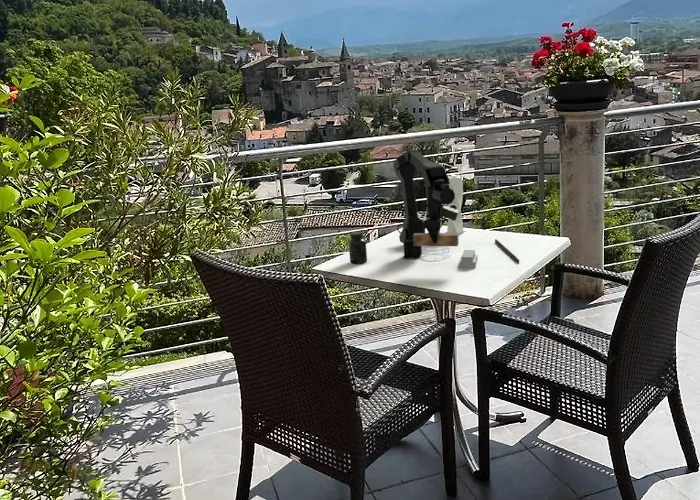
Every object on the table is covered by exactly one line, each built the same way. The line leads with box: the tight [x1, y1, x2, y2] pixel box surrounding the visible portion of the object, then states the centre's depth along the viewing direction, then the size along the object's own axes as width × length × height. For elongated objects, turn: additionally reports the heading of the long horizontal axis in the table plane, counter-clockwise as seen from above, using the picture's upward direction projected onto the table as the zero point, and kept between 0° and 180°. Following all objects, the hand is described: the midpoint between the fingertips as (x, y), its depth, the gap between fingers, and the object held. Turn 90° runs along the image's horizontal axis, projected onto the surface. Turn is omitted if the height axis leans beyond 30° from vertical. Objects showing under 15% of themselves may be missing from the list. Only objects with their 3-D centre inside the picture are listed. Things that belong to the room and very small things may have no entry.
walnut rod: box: [413, 232, 459, 247], centre depth 248 cm, size 16×4×4 cm, turn 75°
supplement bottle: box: [348, 231, 368, 265], centre depth 266 cm, size 7×7×12 cm
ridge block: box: [458, 249, 479, 268], centre depth 256 cm, size 6×10×4 cm, turn 165°
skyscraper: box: [445, 171, 467, 236], centre depth 299 cm, size 8×8×28 cm
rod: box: [494, 239, 520, 264], centre depth 267 cm, size 31×1×2 cm, turn 3°
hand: (435, 241), depth 248 cm, fingers closed on walnut rod, 3 cm apart
